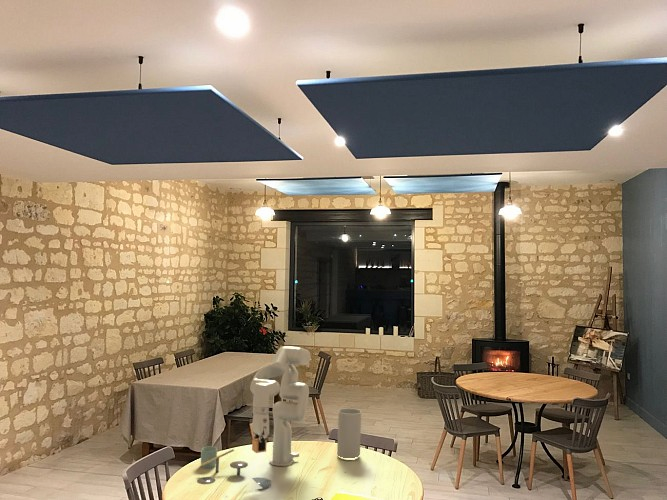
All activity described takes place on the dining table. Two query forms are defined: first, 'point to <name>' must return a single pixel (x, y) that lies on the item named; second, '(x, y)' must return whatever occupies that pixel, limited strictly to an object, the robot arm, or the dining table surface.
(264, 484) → the dish
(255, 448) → the block
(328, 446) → the dining table surface
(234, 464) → the balance
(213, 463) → the cup
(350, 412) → the cylinder vase
